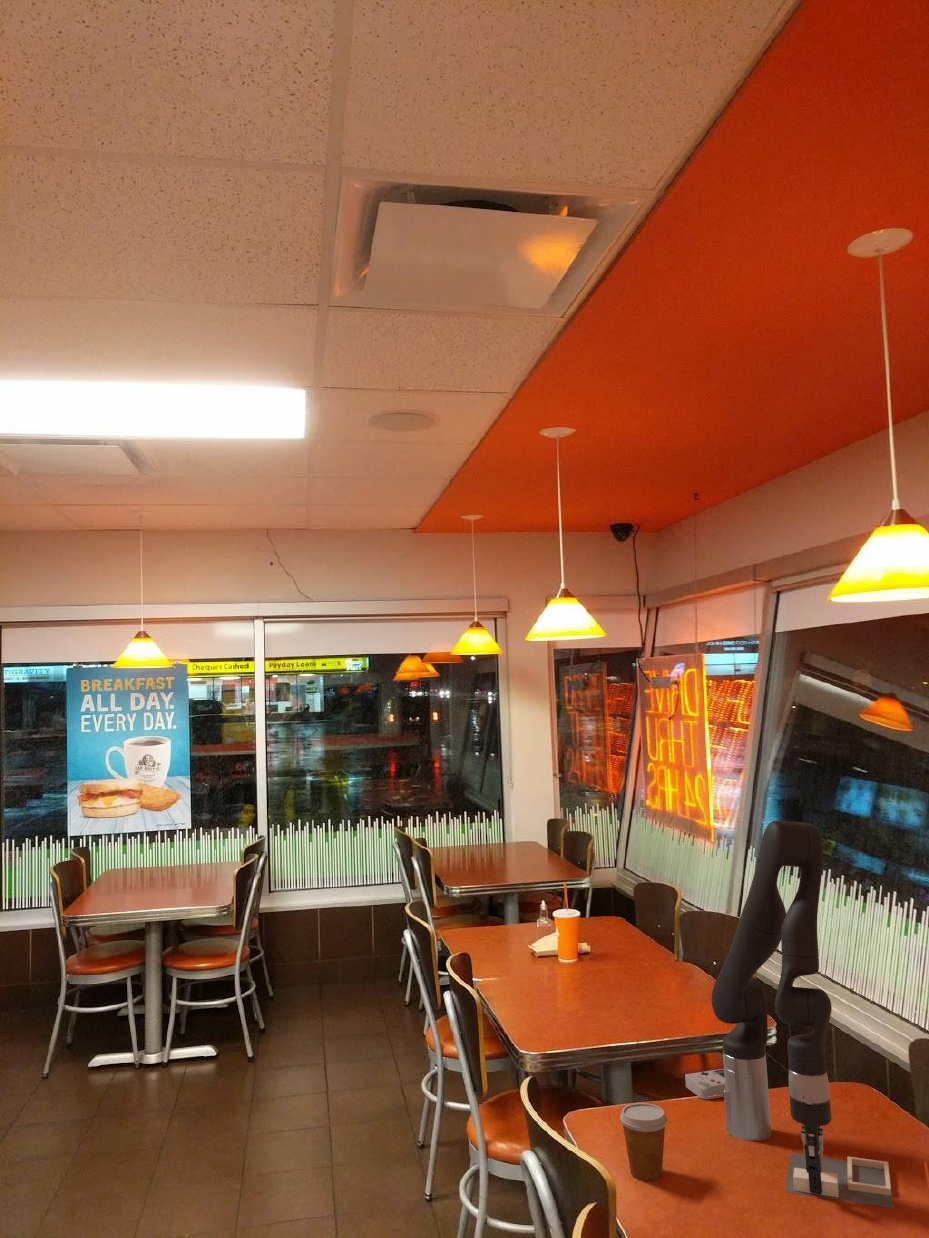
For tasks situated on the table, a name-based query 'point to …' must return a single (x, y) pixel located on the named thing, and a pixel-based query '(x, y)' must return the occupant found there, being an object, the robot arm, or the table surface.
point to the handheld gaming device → (706, 1083)
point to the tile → (827, 1181)
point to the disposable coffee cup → (644, 1139)
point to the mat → (851, 1179)
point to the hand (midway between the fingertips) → (816, 1186)
